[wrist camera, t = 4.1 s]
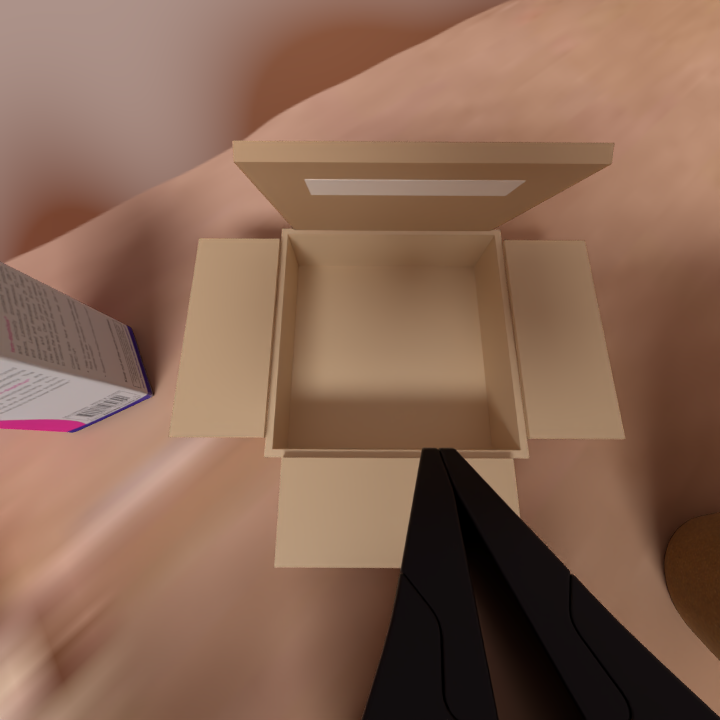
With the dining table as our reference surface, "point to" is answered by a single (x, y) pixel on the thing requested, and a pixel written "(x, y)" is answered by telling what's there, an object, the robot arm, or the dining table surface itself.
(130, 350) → the supplement box
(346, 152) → the flap
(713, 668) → the dining table surface
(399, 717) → the robot arm
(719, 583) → the plant pot
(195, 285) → the carton
